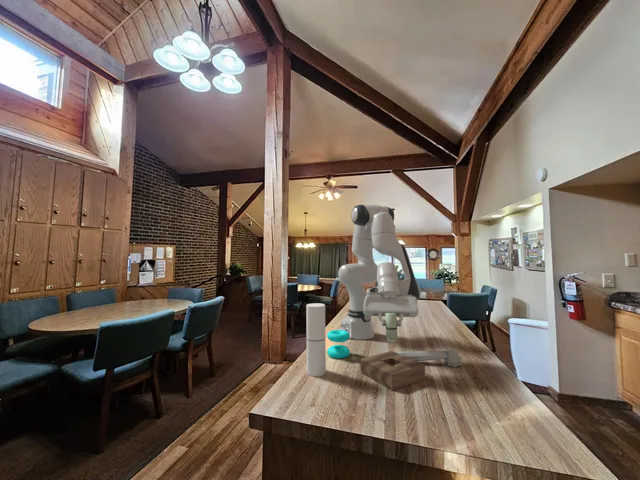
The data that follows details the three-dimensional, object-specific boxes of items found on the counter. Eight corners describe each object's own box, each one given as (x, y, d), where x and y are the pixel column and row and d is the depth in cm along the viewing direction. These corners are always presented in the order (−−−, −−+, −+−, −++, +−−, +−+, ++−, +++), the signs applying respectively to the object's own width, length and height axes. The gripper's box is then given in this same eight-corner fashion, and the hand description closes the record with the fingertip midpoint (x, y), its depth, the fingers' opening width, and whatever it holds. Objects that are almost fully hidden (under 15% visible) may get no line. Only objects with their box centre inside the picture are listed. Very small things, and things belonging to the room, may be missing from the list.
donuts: (340, 327, 128) (354, 332, 120) (340, 349, 128) (354, 356, 119) (322, 331, 123) (335, 336, 114) (322, 354, 122) (336, 361, 114)
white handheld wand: (394, 350, 116) (457, 344, 112) (397, 366, 116) (460, 361, 111) (395, 354, 111) (461, 349, 107) (398, 371, 110) (464, 366, 106)
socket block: (360, 372, 103) (360, 358, 103) (391, 363, 111) (391, 350, 111) (392, 390, 89) (391, 374, 89) (425, 378, 97) (424, 364, 98)
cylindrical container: (303, 374, 101) (303, 306, 103) (310, 367, 108) (310, 302, 109) (321, 377, 99) (321, 307, 100) (328, 369, 106) (327, 303, 107)
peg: (383, 341, 101) (382, 313, 102) (391, 339, 103) (390, 312, 104) (391, 343, 98) (390, 315, 98) (400, 341, 100) (399, 313, 100)
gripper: (415, 299, 111) (420, 331, 100) (363, 298, 114) (363, 329, 104) (416, 289, 106) (422, 321, 96) (363, 289, 110) (363, 319, 100)
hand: (391, 325), depth 100 cm, fingers closed on peg, 4 cm apart
